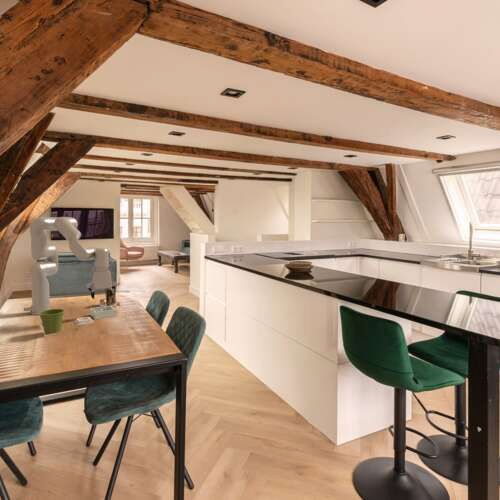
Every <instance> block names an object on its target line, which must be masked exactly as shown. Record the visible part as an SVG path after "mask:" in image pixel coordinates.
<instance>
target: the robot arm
mask: <svg viewBox="0 0 500 500" xmlns="http://www.w3.org/2000/svg"><path fill="white" fill-rule="evenodd" d="M78 226H79V222H78V221H77V219H76V218H74V217H71V216H59V217H57V216H52V217H51V216H49V217H48V216H40V217H36V218H33V219H32V220H31V221H30V223H29V233H30V254H31V258H32V259H33V260H36V261H38V262H34V263H32V264H30V266H29V268H28V274H29V277H30V283H31V284H30V285H31V303H32V304H31V306H29V307H23V311H24V312H29V315H35V316H38V315H39V314H38V313H39V312H41V311H44V310H49V309H52V308H51V302H50V301H51V300H50V298H51V297H50V285H49V284H50V283H49V280H48V278H47V277H50V276H53V275H56V274H57V273H58V271H59V251H58V249H57V246H56V245H55V244H52V243H48V237H47V235H46V233H45V232H57V231H58V232H59V233H60V235H62V236H63V238H65V240H66V241H68V248H69V250H70V253H72V255H74V256H75V257H76V259H78V260H80V261H82V262H86V261H87V262H88V261H94V267H92V269H91V270H92V271H93V273H92V274H93V275H92V281H90V282H89V283H87V284H85V287H86V288H87V290H88V291H89V292H90V298H91V299H93V300H94V299H95V291H96V290H102V289H103V290H105V289H106V288H109V289H110V290H109V297H111V296H112V291H113V289H114V288H115V289H116V287H117V285H118V282H115V280H112V276H111V271H110V270H109V269H110V266H109V263H110V259H109V255H110V254H109V253H110V252H109V249H108V248H102V247H101V248H100V247H94V246H93V247H91V246H90V247H84V246H82V244H81V243H80V242H79V240H80V238H81V237H82V233H81V231H80V230H79V229H78ZM42 260H44V261H42ZM112 285H113V286H112ZM90 286H92V288H91V287H90ZM111 286H112V287H111ZM39 316H40V315H39Z"/></svg>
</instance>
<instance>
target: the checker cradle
mask: <svg viewBox="0 0 500 500" xmlns="http://www.w3.org/2000/svg"><path fill="white" fill-rule="evenodd" d="M73 322H74V323H75V325H77V326H79V325H85V324H93V323H95V321H94V320H93V319H92V318H91V317H90V316H85V317H78V318H76V320H74V321H73Z"/></svg>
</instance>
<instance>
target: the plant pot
mask: <svg viewBox="0 0 500 500" xmlns="http://www.w3.org/2000/svg"><path fill="white" fill-rule="evenodd" d="M65 312H66V311H65V309H63V308H51V309H49V310H44V311H41V312H39V313H38V314H39V317H40V319H41V323H42V328H43V331H44V335H46V336H48V334H56V333H59V332H61V331H62V325H63V317H64V313H65Z"/></svg>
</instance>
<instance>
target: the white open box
mask: <svg viewBox="0 0 500 500" xmlns="http://www.w3.org/2000/svg"><path fill="white" fill-rule="evenodd" d="M112 306H113V305H107V306H106V308H107V311H100V306H97V307H90V308H89V312H90V316H91V317H92V318H93V319H94V320H100V319H108V318H114V317H117V309H116V308H115V307H112Z"/></svg>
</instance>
